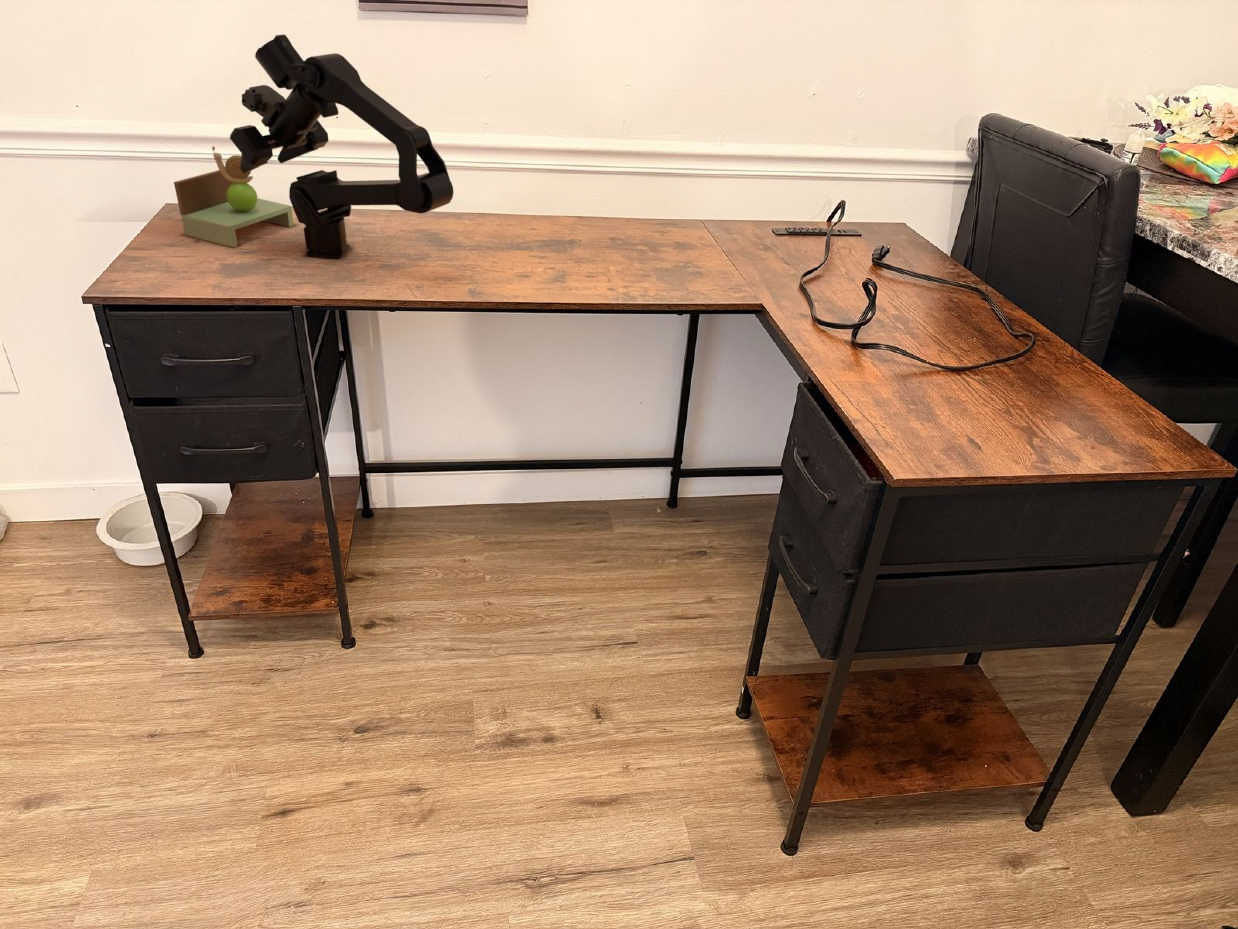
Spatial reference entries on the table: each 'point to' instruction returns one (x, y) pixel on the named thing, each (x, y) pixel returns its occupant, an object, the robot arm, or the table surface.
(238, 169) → the snail figurine
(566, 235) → the table surface
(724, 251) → the table surface
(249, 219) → the bench with backrest
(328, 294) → the table surface
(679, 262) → the table surface
